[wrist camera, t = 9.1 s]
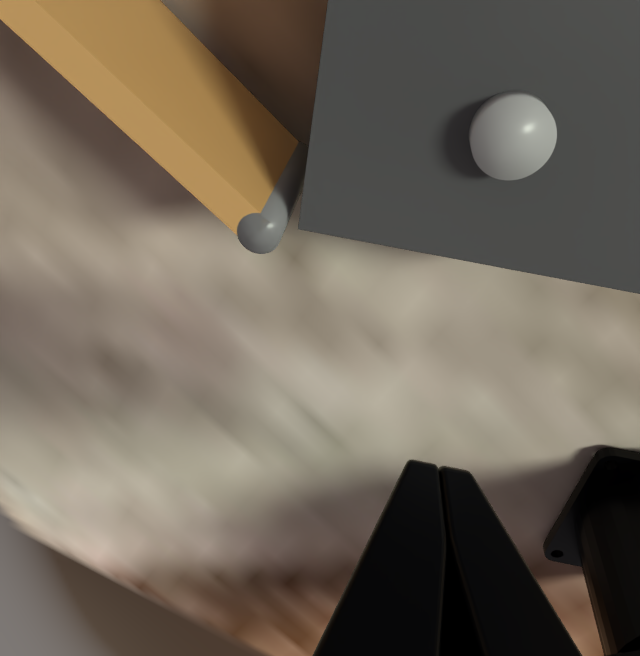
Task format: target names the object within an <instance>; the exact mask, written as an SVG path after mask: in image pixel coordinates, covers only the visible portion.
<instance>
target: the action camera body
mask: <svg viewBox="0 0 640 656" xmlns="http://www.w3.org/2000/svg"><path fill="white" fill-rule="evenodd" d="M298 229H300V230H305V231H310V232H316V233H321V234H326V235H332V236H337V237H342V238H347V239H353V240H358V241H363V242H369V243H374V244H379V245H384V246H390V247H395V248H400V249H406V250H411V251H416V252H421V253H427V254H432V255H437V256H443V257H448V258H453V259H458V260H464V261H469V262H474V263H480V264H485V265H490V266H495V267H501V268H506V269H511V270H517V271H522V272H527V273H532V274H538V275H543V276H548V277H554V278H559V279H564V280H569V281H575V282H580V283H585V284H591V285H596V286H601V287H606V288H612V289H617V290H622V291H628V292H633V293H638V294H640V0H328V5H327V12H326V20H325V28H324V35H323V43H322V50H321V58H320V66H319V73H318V81H317V88H316V96H315V104H314V111H313V119H312V126H311V134H310V142H309V149H308V157H307V165H306V172H305V180H304V187H303V195H302V203H301V210H300V218H299V225H298Z"/></svg>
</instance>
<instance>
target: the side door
mask: <svg viewBox="0 0 640 656" xmlns="http://www.w3.org/2000/svg"><path fill="white" fill-rule="evenodd" d="M0 19H1V20H2V21H3V22H4V23H5V24H6V25H7V26H8V27H9V28H11V29H12V30H13V31H14V32H15V33H16V34H17V35H18V36H19V37H20V38H22V39H23V40H24V41H25V42H26V43H27V44H28V45H29V46H30V47H31V48H32V49H34V50H35V51H36V52H37V53H38V54H39V55H40V56H41V57H42V58H43V59H45V60H46V61H47V62H48V63H49V64H50V65H51V66H52V67H53V68H54V69H56V70H57V71H58V72H59V73H60V74H61V75H62V76H63V77H64V78H65V79H66V80H68V81H69V82H70V83H71V84H72V85H73V86H74V87H75V88H76V89H77V90H79V91H80V92H81V93H82V94H83V95H84V96H85V97H86V98H87V99H88V100H89V101H91V102H92V103H93V104H94V105H95V106H96V107H97V108H98V109H99V110H100V111H102V112H103V113H104V114H105V115H106V116H107V117H108V118H109V119H110V120H111V121H113V122H114V123H115V124H116V125H117V126H118V127H119V128H120V129H121V130H122V131H123V132H125V133H126V134H127V135H128V136H129V137H130V138H131V139H132V140H133V141H134V142H136V143H137V144H138V145H139V146H140V147H141V148H142V149H143V150H144V151H145V152H146V153H148V154H149V155H150V156H151V157H152V158H153V159H154V160H155V161H156V162H157V163H159V164H160V165H161V166H162V167H163V168H164V169H165V170H166V171H167V172H168V173H170V174H171V175H172V176H173V177H174V178H175V179H176V180H177V181H178V182H179V183H180V184H182V185H183V186H184V187H185V188H186V189H187V190H188V191H189V192H190V193H191V194H193V195H194V196H195V197H196V198H197V199H198V200H199V201H200V202H201V203H202V204H203V205H205V206H206V207H207V208H208V209H209V210H210V211H211V212H212V213H213V214H214V215H216V216H217V217H218V218H219V219H220V220H221V221H222V222H223V223H224V224H225V225H227V226H228V227H229V228H230V229H231V230H232V231H233V232H234V233H235V234H236V235H237V236H238V239H239V241H240V242H241V244H242V245H243V246H244V247H245V248H246V249H248V250H249V251H251V252H254V253H258V254H265V253H269V252H271V251H273V250H274V249H275V248H276V247H277V246H278V244H279V242H280V240H281V238H282V235H283V233H284V231H285V228H286V226H287V224H288V221H289V219H290V217H291V214H292V212H293V210H294V207H295V205H296V203H297V200H298V198H299V196H300V193H301V191H302V189H303V187H304V180H305V172H306V165H307V157H308V149H309V147H308V146H307V145H305V144H303V143H301V142H298V141H297V140H296V139H295V138H294V137H293V136H292V134H291V133H290V132H289V131H288V130H287V129H286V128H285V127H284V126H283V125H282V124H281V123H280V122H279V121H278V120H277V119H276V118H275V117H274V116H273V115H272V114H271V113H270V112H269V111H268V110H267V109H266V108H265V107H264V106H263V105H262V104H261V103H260V102H259V101H258V100H257V99H256V98H255V97H254V96H253V95H252V94H251V93H250V92H249V91H248V90H247V89H246V88H245V87H244V86H243V85H242V84H241V82H240V81H239V80H238V79H237V78H236V77H235V76H234V75H233V74H232V73H231V72H230V71H229V70H228V69H227V68H226V67H225V66H224V65H223V64H222V63H221V62H220V61H219V60H218V59H217V58H216V57H215V56H214V55H213V54H212V53H211V52H210V51H209V50H208V49H207V48H206V47H205V46H204V45H203V44H202V43H201V42H200V41H199V40H198V39H197V38H196V37H195V36H194V35H193V34H192V33H191V32H190V30H189V29H188V28H187V27H186V26H185V25H184V24H183V23H182V22H181V21H180V20H179V19H178V18H177V17H176V16H175V15H174V14H173V13H172V12H171V11H170V10H169V9H168V8H167V7H166V6H165V5H164V4H163V3H162V2H161V1H160V0H0Z"/></svg>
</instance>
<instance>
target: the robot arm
mask: <svg viewBox="0 0 640 656" xmlns="http://www.w3.org/2000/svg"><path fill="white" fill-rule="evenodd" d="M609 460H613V461H611V462H606V461H609ZM543 548H544V553H545V556H546V558H548V559H549V560H552V561H556V562H561V563H566V564H571V565H576V566H580V567H582V569H583V573H584V577H585V581H586V585H587V589H588V593H589V597H590V601H591V605H592V609H593V613H594V617H595V621H596V625H597V629H598V633H599V637H600V641H601V645H602V649H603V653H604V656H640V453H635V452H630V451H625V450H620V449H615V448H605V449H601V450H599V451H598V452H597V453H596V454H595V455H594V457H593V458H592V460H591V462H590V464H589V465H588V467H587V469H586V471H585V472H584V474H583V476H582V478H581V479H580V481H579V483H578V485H577V486H576V488H575V490H574V492H573V493H572V495H571V497H570V499H569V500H568V502H567V504H566V506H565V507H564V509H563V511H562V513H561V514H560V516H559V518H558V520H557V521H556V523H555V525H554V527H553V528H552V530H551V532H550V534H549V535H548V537H547V539H546V541H545V542H544V545H543ZM313 656H582V654H581V653H580V651H579V650H578V648H577V646H576V645H575V643H574V641H573V640H572V638H571V636H570V635H569V633H568V631H567V630H566V628H565V627H564V625H563V623H562V622H561V620H560V618H559V617H558V615H557V613H556V612H555V610H554V608H553V607H552V605H551V603H550V602H549V600H548V599H547V597H546V595H545V594H544V592H543V590H542V589H541V587H540V585H539V584H538V582H537V580H536V579H535V577H534V576H533V574H532V572H531V571H530V569H529V567H528V566H527V564H526V562H525V561H524V559H523V557H522V556H521V554H520V553H519V551H518V549H517V548H516V546H515V544H514V543H513V541H512V539H511V538H510V536H509V534H508V533H507V531H506V529H505V528H504V526H503V525H502V523H501V521H500V520H499V518H498V516H497V515H496V513H495V511H494V510H493V508H492V506H491V505H490V503H489V502H488V500H487V498H486V497H485V495H484V493H483V492H482V490H481V488H480V487H479V485H478V483H477V482H476V480H475V479H474V477H473V475H472V474H471V473H470V472H468V471H466V470H462V469H457V468H452V467H447V466H441V467H439V468H438V467H437V466H436V465H435V464H432V463H427V462H422V461H417V460H409V461H408V462H407V463H406V465H405V467H404V469H403V471H402V473H401V475H400V477H399V479H398V481H397V483H396V485H395V487H394V489H393V491H392V493H391V496H390V498H389V500H388V502H387V504H386V506H385V508H384V510H383V512H382V514H381V516H380V518H379V520H378V522H377V524H376V526H375V528H374V530H373V532H372V535H371V537H370V539H369V541H368V543H367V545H366V547H365V549H364V551H363V553H362V555H361V557H360V559H359V561H358V563H357V565H356V567H355V569H354V571H353V574H352V576H351V578H350V580H349V582H348V584H347V586H346V588H345V590H344V592H343V594H342V596H341V598H340V600H339V602H338V604H337V606H336V608H335V611H334V613H333V615H332V617H331V619H330V621H329V623H328V625H327V627H326V629H325V631H324V633H323V635H322V637H321V639H320V641H319V643H318V645H317V647H316V650H315V652H314V654H313Z"/></svg>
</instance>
